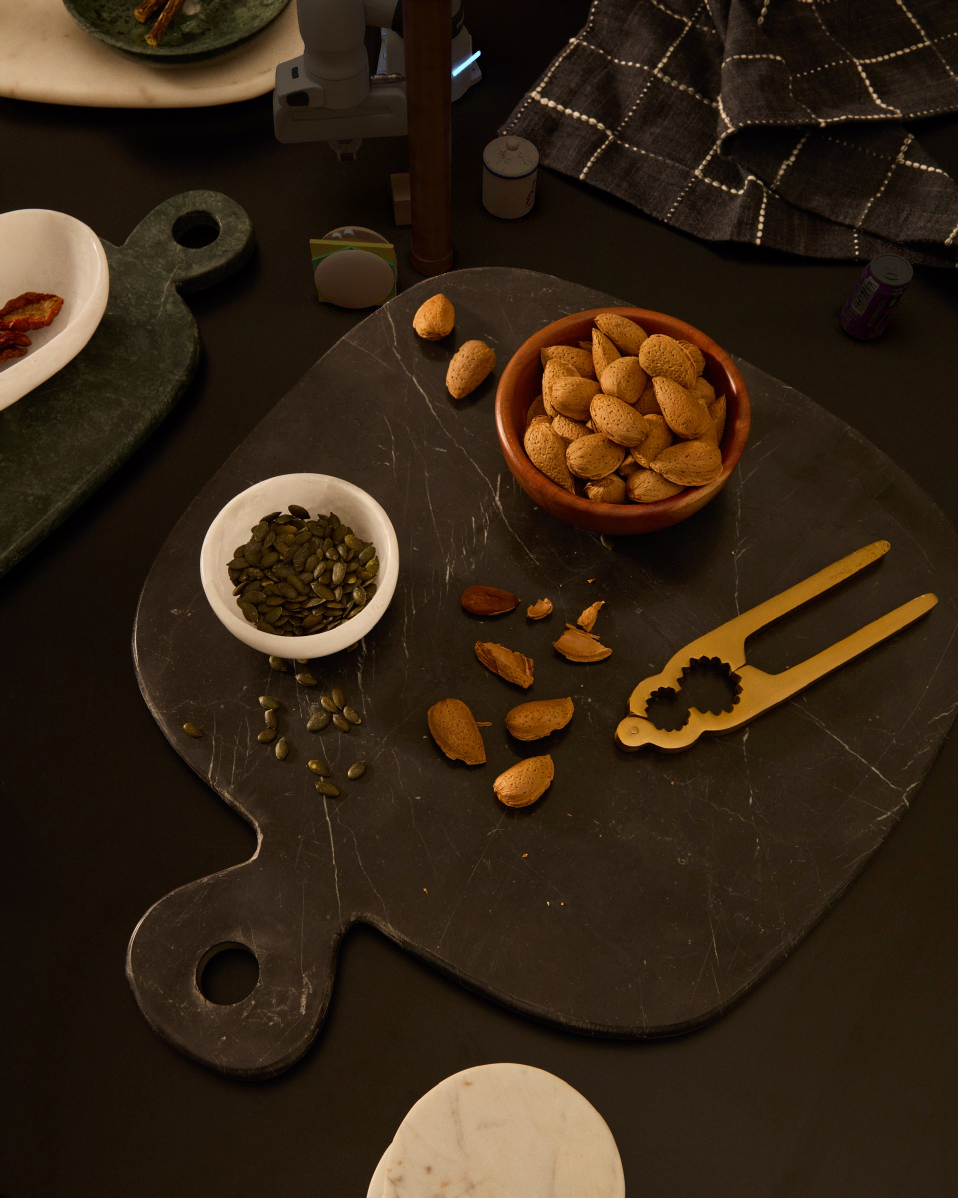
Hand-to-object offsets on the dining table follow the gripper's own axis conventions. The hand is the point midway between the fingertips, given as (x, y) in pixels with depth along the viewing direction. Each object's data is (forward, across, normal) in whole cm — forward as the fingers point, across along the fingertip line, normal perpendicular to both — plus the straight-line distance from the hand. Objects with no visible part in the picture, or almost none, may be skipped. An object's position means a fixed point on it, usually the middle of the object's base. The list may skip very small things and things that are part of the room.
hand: (347, 157), depth 149 cm
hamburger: (+10, 0, +18) cm, 21 cm away
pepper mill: (+10, -12, +12) cm, 20 cm away
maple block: (+11, -10, +1) cm, 14 cm away
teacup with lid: (+11, -26, -1) cm, 28 cm away
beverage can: (+10, -77, +32) cm, 84 cm away
